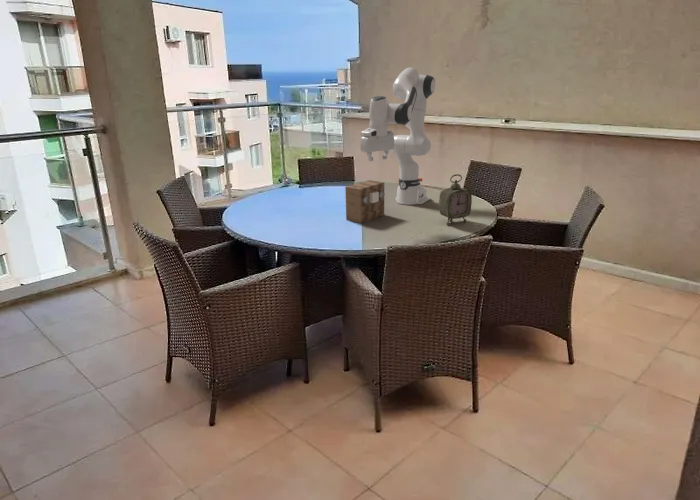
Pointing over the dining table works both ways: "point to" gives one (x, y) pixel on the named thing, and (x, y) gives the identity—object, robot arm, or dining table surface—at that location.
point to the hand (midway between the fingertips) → (377, 160)
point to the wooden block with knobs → (364, 201)
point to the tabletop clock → (455, 201)
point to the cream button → (373, 197)
